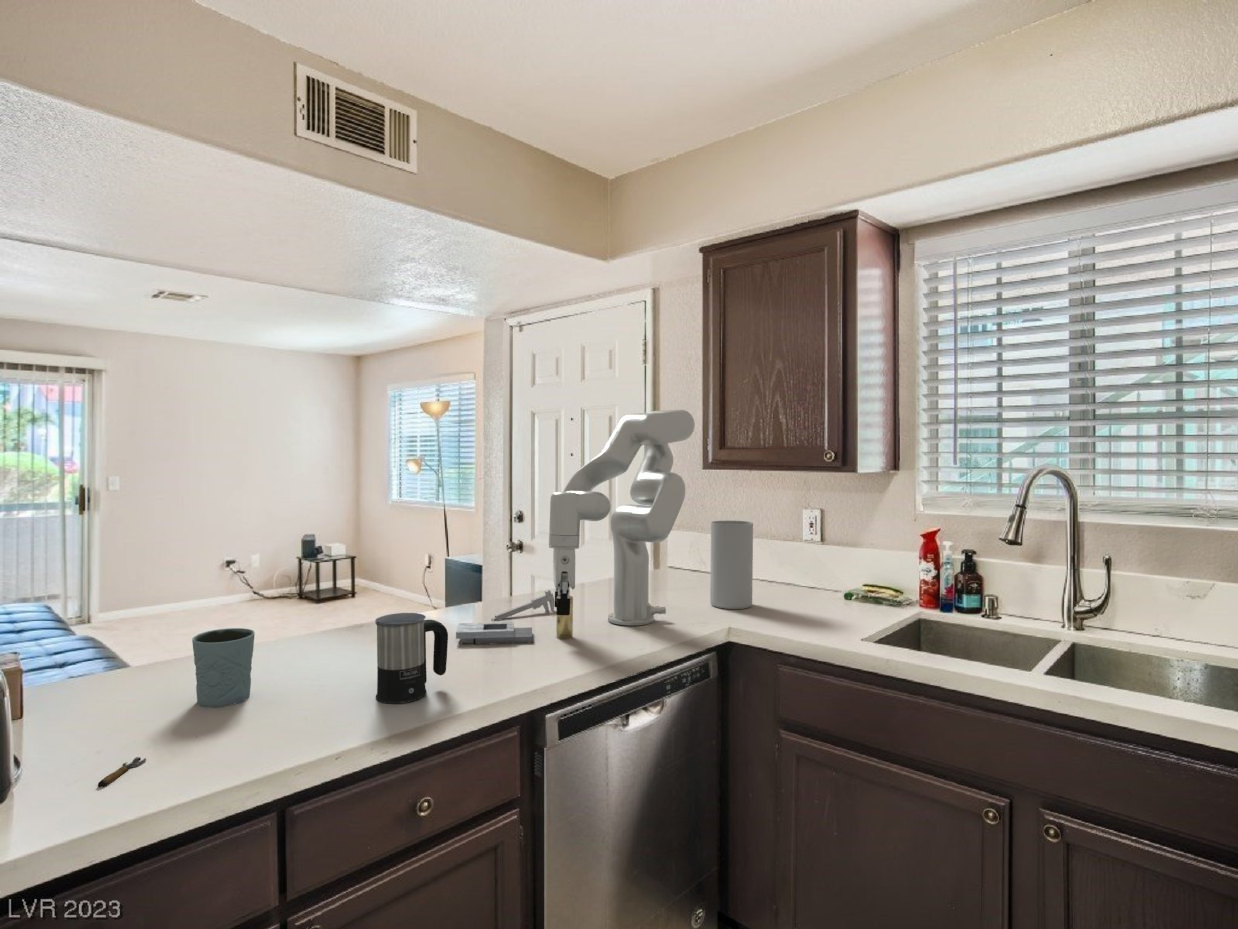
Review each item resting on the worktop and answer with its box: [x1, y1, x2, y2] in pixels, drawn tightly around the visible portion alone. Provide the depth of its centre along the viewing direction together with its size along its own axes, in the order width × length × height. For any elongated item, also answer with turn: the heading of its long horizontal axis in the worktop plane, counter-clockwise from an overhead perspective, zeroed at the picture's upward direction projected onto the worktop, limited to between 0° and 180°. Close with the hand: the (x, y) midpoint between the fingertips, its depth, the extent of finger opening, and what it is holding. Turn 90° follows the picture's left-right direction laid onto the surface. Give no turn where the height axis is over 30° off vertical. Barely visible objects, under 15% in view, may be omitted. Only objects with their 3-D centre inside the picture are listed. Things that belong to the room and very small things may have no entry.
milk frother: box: [375, 612, 449, 705], centre depth 138 cm, size 14×16×15 cm
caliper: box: [490, 589, 555, 622], centre depth 201 cm, size 20×1×6 cm, turn 131°
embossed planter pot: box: [191, 627, 256, 708], centre depth 132 cm, size 10×10×12 cm
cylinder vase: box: [709, 520, 754, 610], centre depth 215 cm, size 12×12×25 cm
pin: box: [556, 595, 574, 640], centre depth 177 cm, size 4×4×10 cm
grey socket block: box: [455, 621, 533, 645], centre depth 175 cm, size 18×9×3 cm, turn 98°
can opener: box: [97, 756, 147, 788], centre depth 102 cm, size 9×2×1 cm, turn 177°
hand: (561, 611), depth 177 cm, fingers open, 9 cm apart
